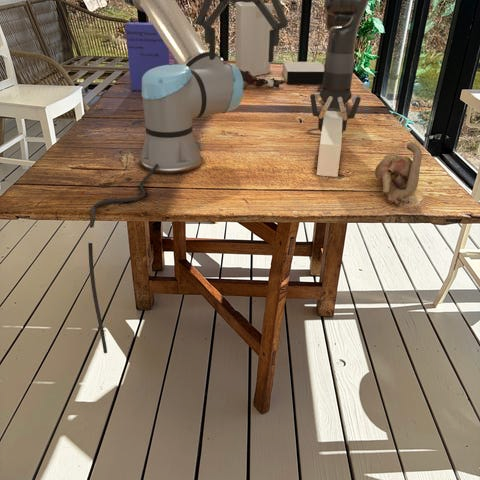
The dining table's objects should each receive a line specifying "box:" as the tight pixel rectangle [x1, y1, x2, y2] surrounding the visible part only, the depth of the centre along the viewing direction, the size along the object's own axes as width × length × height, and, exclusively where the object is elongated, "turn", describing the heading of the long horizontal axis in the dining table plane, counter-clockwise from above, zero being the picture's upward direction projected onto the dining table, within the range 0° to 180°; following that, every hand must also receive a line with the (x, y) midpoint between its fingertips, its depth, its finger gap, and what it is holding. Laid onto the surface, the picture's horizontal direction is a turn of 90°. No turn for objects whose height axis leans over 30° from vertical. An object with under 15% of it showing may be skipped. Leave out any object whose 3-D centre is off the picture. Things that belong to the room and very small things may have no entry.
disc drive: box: [281, 61, 325, 85], centre depth 207 cm, size 18×22×5 cm
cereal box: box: [124, 21, 177, 92], centre depth 181 cm, size 17×5×24 cm, turn 86°
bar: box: [316, 110, 343, 178], centre depth 127 cm, size 28×5×8 cm, turn 169°
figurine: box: [239, 69, 287, 89], centre depth 190 cm, size 24×8×30 cm
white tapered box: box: [234, 1, 274, 77], centre depth 210 cm, size 19×15×28 cm
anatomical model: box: [374, 141, 423, 205], centre depth 107 cm, size 13×9×15 cm
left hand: (241, 60), depth 109 cm, fingers open, 13 cm apart
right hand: (331, 131), depth 135 cm, fingers closed on bar, 5 cm apart
